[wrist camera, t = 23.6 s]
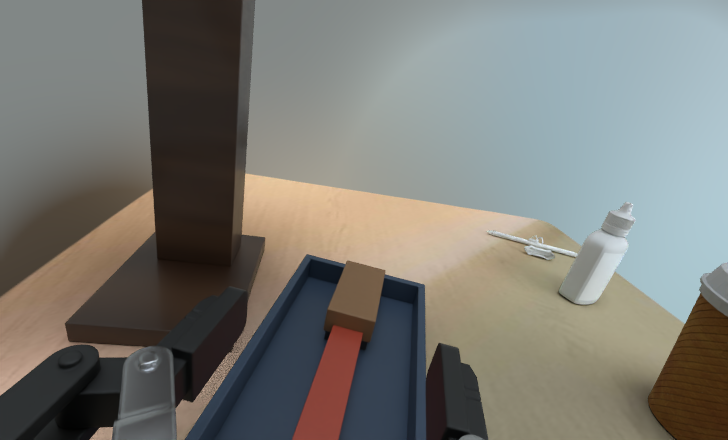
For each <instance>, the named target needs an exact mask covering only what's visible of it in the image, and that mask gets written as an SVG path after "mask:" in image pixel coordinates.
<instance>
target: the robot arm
mask: <svg viewBox="0 0 728 440" xmlns="http://www.w3.org/2000/svg"><path fill="white" fill-rule="evenodd" d="M247 303H248V291H246V290H243V289H239V288H235V287H231V286H229V287H227V288H226V289H225V290H224V291H223V292H222V293H221V295H220V296H215V295H211V296H209V297H207V298H205V299H203V300H202V301H200V302H199V303H198V304H197V305H196V306H195V307H194V308H193V309H192V311H191V312H189V313H188V314H187V315H186V316H185V318H184V319H182V320H181V321H180V322H179V323H178V324H177V325H176V326H175V327H174V328H173V329H172V330H171V331H170V332H169V333H168V334H167V335H166V336H165V337H164V338H163V339H162V340H161V341H160V342H159V343H158V344H157V345H156V346H149V347H145V348H142V349H140V350H138V351H136V352H134V353H133V354H131V355H130V356H129V357H125V358H99V353H98V350H97V349H96V348H95V347H93V346H90V345H74V346H70V347H66V348H64V349H61V350H59V351H57V352H55V353H54V354H52V355H51V356H49V357H48V358H47V359H46V360H44V361H43V362H42V363H41V364H39V365H38V366H37V367H36V368H34V369H33V370H32V371H31V372H29V373H28V374H27V375H26V376H25V377H23V378H22V379H21V380H20V381H18V382H17V383H16V384H15V385H13V386H12V387H11V388H10V389H8V390H7V391H6V392H5V393H3V394H2V395H1V396H0V440H89V439H90V438H91V437H92V436H93V435H94V434H95V432H96V431H97V430H98V429H99V428H100V427H113V434H112V440H177V433H176V411H175V408H176V407H177V406H178V404H179V403H180V402H181V400H182V399H183V400H186V401H190V402H193V401H194V400H195V398H196V397H197V396H198V394H199V393H200V391H201V390H202V389H203V387H204V386H205V384H206V383H207V382H208V380H209V379H210V377H211V376H212V374H213V373H214V372H215V370H216V369H217V367H218V366H219V365H220V363H221V362H222V360H223V359H224V358H225V356H226V355H227V353H228V352H229V351H230V349H231V348H232V346H233V345H234V343H235V342H236V341H237V339H238V338H239V336H240V335H241V333H242V331H243V329H244V327H245V323H246V317H247ZM425 390H426V440H488V436H487V430H486V425H485V419H484V414H483V409H482V403H481V398H480V392H479V387H478V381H477V377H476V375H475V374H474V372H473V370H472V369H471V367H470V365H467V364H464V363H461V361H460V354H459V349H458V348H457V347H453V346H449V345H445V344H442V343H439V344H438V346H437V348H436V351H435V354H434V356H433V359H432V362H431V364H430V367H429V370H428V373H427V377H426V386H425Z"/></svg>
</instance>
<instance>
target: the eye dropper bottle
mask: <svg viewBox="0 0 728 440" xmlns="http://www.w3.org/2000/svg"><path fill="white" fill-rule="evenodd" d="M632 207H633V204H631V203H628V202H625V203H624V205H623V206H622V207H621V208H620V209H619V210H616V211H609V213H608V215H607V217H606V219H605V221H604V223H603V224H602V226H601V227H602V228H601V229H599V230H596V231H594V232H592V233H591V234H590V235H589V236H588V237H587V238H586V240H585V242H584V243H583V245H582V247H581V249H580V251H579V253H578V255H577V256H576V258H575V260H574V262H573V264H572V266H571V268H570V270H569V272H568V273H567V275H566V277H565V279H564V281H563V283H562V285H561V287H560V289H559V293H560V294H561V295H563V296H564V297H566V298H567V299H568V300H570V301H572V302H573V303H576V304H592V303H594V302H596V301H597V300H598V299H599V297H600V295H601V294H602V292H603V290H604V289H605V287H606V285H607V284H608V282H609V280H610V279H611V277H612V275H613V273H614V272H615V270H616V268H617V266H618V265H619V263H620V261H621V260H622V258H623V256H624V255H625V253H626V251H627V249H628V246H629V243H628V241H627V239H626V238H625V236H627V234H628V233H629V231H630V229H631V228H632V226H633V224H634V222H635V218H634V217H632V215H631V210H632Z"/></svg>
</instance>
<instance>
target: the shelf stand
mask: <svg viewBox="0 0 728 440" xmlns="http://www.w3.org/2000/svg"><path fill="white" fill-rule="evenodd" d="M142 6H143V7H142V8H143V25H144V42H145V59H146V77H147V93H148V111H149V126H150V127H149V128H150V145H151V161H152V179H153V197H154V214H155V231H156V232H155V233H154V234H153V235H152V236H151V237H150V238H149V239H148V240H147V241H146V242H145V243H144V244H143V245H142V246H141V247H140V248H139V249H138V250H137V251H136V252H135V253H134V254H133V255H132V256H131V257H130V258H129V259H128V260H127V261H126V262H125V263H124V264H123V265H122V266H121V267H120V268H119V269H118V270H117V271H116V272H115V273H114V274H113V275H112V276H111V277H110V278H109V279H108V280H107V281H106V282H105V283H104V284H103V285H102V286H101V287H100V288H99V289H98V290H97V291H96V292H95V293H94V294H93V295H92V297H91V298H90V299H89V300H88V301H87V302H86V303H85V304H84V305H83V306H82V307H81V308H80V309H79V310H78V311H77V312H76V313H75V314H74V315H73V316H72V317H71V318H70V319H69V320H68V321H67V322H66V323H65V326H66V331H67V336H68V340H69V341H76V342H92V343H107V344H122V345H137V346H156V345H157V344H158V343H159V342H160V341H161V340H162V339H163V338H164V337H165V336H166V335H167V334H168V333H169V332H170V331H171V330H172V329H173V328H174V327H175V326H176V325H177V324H178V323H179V322H180V321H181V320H182V319H184V318H185V316H186V315H187V314H188V313H189V312H191V311H192V309H193V308H194V307H195V306H196V305H197V304H198V303H199V302H200V301H202V300H203V299H205V298H207V297H209V296H211V295H215V296H220V295H221V293H222V292H223V291H224V290H225V289H226V288H227V287H229V286H231V287H235V288H239V289H243V290H246V291H248V298H249V295H250V292H251V289H252V286H253V283H254V280H255V276H256V273H257V270H258V267H259V264H260V261H261V258H262V255H263V252H264V247H265V237H257V236H249V235H242V219H243V202H244V184H245V167H246V149H247V132H248V114H249V97H250V80H251V62H252V45H253V28H254V11H255V10H254V9H255V0H142ZM232 347H233V346H232ZM231 350H232V348H231V349H230V351H229V352H231Z"/></svg>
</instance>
